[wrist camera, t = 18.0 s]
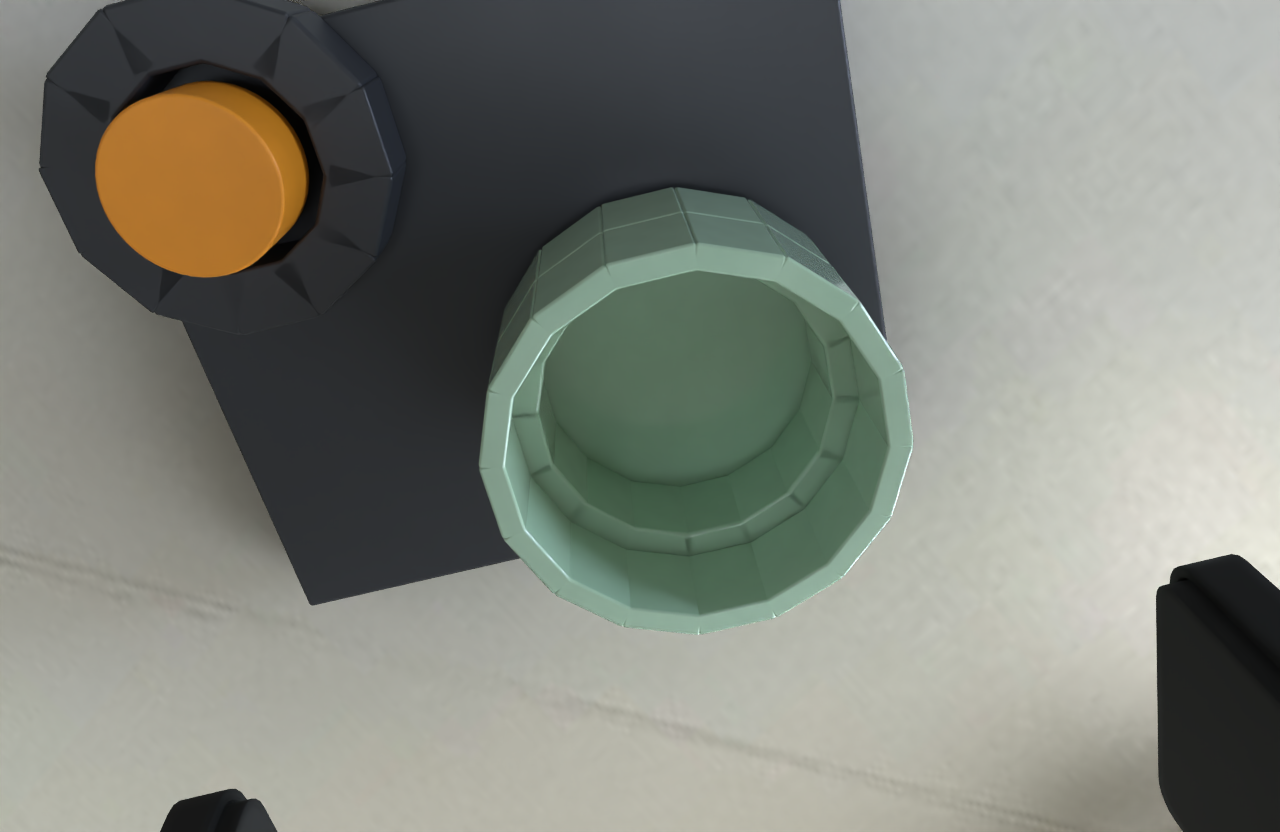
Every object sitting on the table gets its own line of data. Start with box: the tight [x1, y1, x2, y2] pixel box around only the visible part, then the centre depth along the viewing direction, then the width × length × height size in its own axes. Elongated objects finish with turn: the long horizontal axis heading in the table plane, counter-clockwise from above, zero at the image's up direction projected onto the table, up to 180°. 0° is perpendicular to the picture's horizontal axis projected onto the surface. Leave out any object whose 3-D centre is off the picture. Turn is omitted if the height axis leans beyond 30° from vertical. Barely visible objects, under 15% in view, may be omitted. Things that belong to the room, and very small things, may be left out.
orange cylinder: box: [95, 81, 309, 277], centre depth 17 cm, size 3×3×2 cm
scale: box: [39, 0, 887, 605], centre depth 20 cm, size 14×13×3 cm
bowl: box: [478, 187, 914, 635], centre depth 19 cm, size 7×7×5 cm
